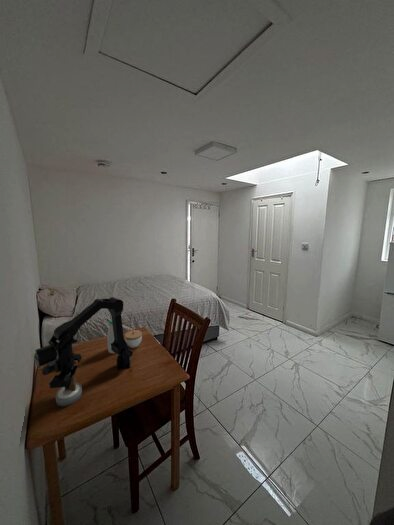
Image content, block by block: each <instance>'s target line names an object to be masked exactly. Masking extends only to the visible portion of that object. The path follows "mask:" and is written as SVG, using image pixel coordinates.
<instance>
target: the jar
mask: <svg viewBox="0 0 394 525" xmlns="http://www.w3.org/2000/svg"><path fill="white" fill-rule="evenodd" d="M75 383H76V390H75V391H71V390H66V391H65V387H59V389H58V390H57V391H56V393H55V403H56V406H59V407H67V406H70V405H73V404H74V403H76V402H77V401H79V400H80V399H81V397H82V395H83V389H82V388H83V386H82V384H80V382H79V383H78V382H75Z"/></svg>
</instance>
